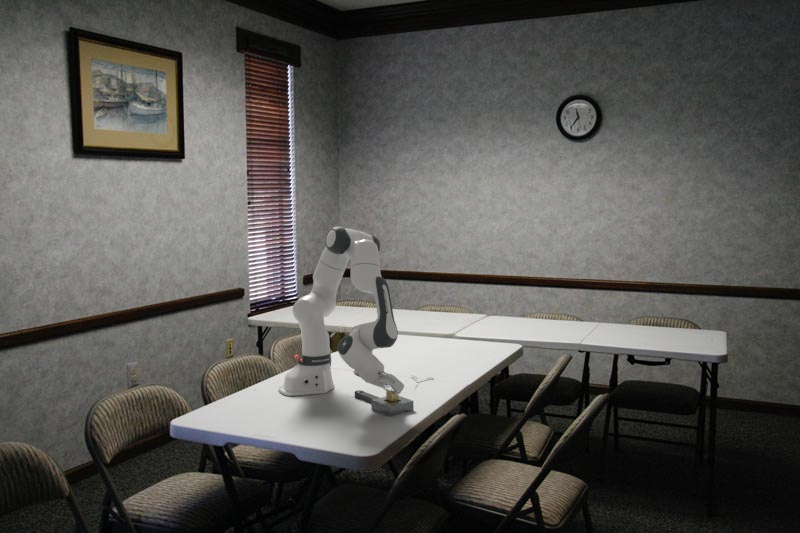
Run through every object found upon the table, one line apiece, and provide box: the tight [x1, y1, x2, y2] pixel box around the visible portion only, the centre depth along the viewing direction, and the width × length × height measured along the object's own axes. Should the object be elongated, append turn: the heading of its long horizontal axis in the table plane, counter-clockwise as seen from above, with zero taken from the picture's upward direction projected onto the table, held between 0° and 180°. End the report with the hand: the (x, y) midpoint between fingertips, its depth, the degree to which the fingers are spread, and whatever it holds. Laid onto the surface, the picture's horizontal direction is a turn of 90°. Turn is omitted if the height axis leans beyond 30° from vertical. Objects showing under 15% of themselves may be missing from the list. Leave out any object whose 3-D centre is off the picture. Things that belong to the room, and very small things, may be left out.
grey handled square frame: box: [354, 389, 414, 417], centre depth 261 cm, size 11×29×4 cm, turn 38°
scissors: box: [410, 374, 435, 389], centre depth 291 cm, size 11×1×20 cm
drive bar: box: [385, 389, 400, 403], centre depth 253 cm, size 3×3×8 cm
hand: (393, 392), depth 254 cm, fingers closed on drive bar, 3 cm apart
